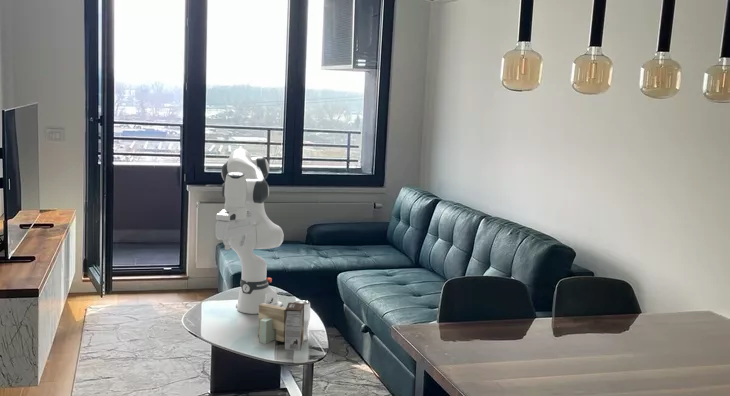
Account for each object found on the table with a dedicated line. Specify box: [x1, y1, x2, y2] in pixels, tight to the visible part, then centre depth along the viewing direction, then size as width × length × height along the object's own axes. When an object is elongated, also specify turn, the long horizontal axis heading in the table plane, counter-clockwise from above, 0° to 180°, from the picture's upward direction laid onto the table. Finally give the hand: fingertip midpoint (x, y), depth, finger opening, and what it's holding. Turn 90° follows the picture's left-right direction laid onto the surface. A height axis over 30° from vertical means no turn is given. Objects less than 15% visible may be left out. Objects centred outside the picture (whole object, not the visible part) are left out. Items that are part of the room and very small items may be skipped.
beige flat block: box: [257, 303, 287, 343], centre depth 275 cm, size 3×12×13 cm, turn 63°
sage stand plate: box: [258, 317, 276, 345], centre depth 275 cm, size 14×3×9 cm, turn 153°
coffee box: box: [284, 302, 304, 351], centre depth 267 cm, size 9×6×16 cm
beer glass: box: [293, 300, 311, 343], centre depth 275 cm, size 7×7×15 cm
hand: (235, 247), depth 276 cm, fingers open, 8 cm apart
